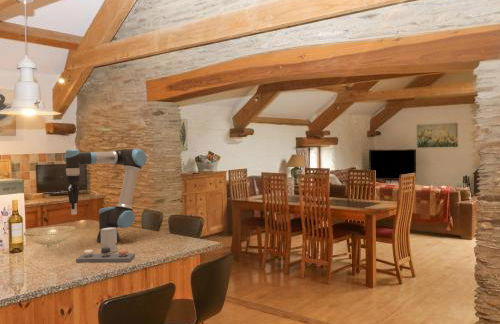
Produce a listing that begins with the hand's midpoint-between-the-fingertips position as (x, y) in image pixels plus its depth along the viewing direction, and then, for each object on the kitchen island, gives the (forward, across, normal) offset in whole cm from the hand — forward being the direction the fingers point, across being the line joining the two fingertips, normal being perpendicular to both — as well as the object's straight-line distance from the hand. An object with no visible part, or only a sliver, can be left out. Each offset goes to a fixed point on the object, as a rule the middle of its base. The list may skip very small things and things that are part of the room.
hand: (74, 214), depth 275 cm
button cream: (+24, +13, +13) cm, 30 cm away
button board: (+24, +13, +23) cm, 36 cm away
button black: (+23, +13, +23) cm, 35 cm away
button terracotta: (+24, +13, +33) cm, 43 cm away
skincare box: (+25, -5, +19) cm, 31 cm away
